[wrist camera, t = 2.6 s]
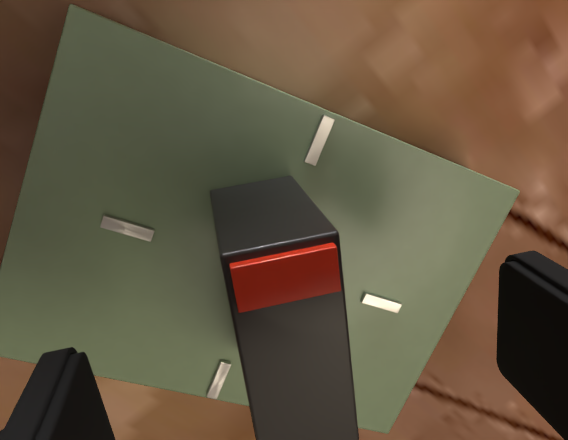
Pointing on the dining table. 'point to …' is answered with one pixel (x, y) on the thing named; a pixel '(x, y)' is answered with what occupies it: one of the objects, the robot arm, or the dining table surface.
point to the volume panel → (201, 229)
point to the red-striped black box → (287, 310)
